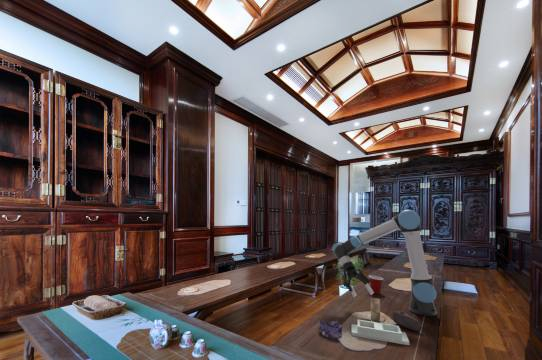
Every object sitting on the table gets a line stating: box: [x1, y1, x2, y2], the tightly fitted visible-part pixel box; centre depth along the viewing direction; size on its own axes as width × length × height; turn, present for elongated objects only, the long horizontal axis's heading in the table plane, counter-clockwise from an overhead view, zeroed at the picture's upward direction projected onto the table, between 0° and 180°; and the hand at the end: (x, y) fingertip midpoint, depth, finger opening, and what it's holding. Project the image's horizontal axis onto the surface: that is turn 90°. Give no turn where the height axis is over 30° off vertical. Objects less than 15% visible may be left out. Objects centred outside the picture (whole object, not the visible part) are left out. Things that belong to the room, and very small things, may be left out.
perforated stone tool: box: [392, 310, 423, 332], centre depth 139 cm, size 15×5×7 cm, turn 33°
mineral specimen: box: [318, 320, 344, 340], centre depth 129 cm, size 11×14×4 cm
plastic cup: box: [368, 274, 384, 295], centre depth 199 cm, size 11×11×12 cm
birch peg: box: [370, 297, 381, 323], centre depth 146 cm, size 5×5×12 cm
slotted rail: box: [351, 318, 410, 346], centre depth 128 cm, size 26×10×4 cm, turn 72°
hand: (364, 295), depth 153 cm, fingers open, 13 cm apart
